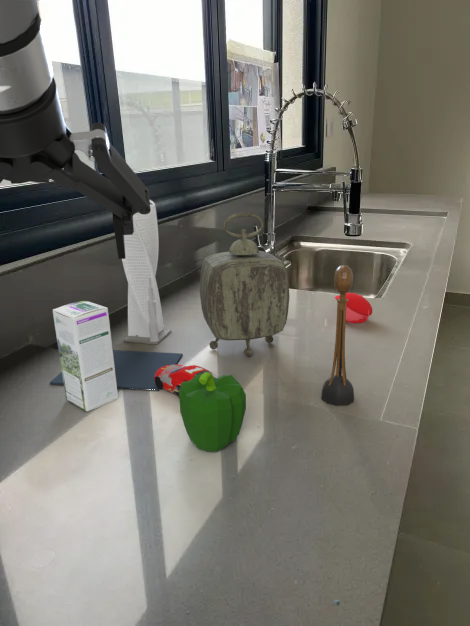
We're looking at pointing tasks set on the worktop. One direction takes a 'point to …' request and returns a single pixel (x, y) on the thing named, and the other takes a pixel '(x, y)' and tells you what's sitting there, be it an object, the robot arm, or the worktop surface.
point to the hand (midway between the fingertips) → (57, 252)
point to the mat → (136, 368)
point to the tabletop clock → (244, 291)
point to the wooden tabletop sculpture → (340, 346)
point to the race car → (176, 376)
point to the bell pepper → (212, 410)
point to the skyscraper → (143, 280)
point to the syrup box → (86, 354)
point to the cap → (357, 308)
